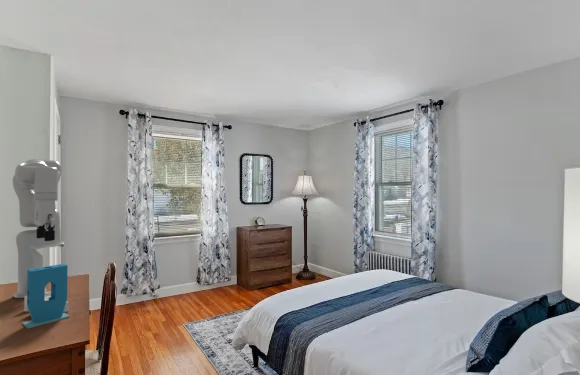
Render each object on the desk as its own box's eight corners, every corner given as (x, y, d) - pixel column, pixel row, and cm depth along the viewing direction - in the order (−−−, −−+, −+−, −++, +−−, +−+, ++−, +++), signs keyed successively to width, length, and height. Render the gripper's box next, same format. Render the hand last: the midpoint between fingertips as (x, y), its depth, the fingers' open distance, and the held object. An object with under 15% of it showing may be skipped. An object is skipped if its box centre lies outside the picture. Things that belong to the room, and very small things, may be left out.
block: (30, 325, 115) (30, 271, 116) (26, 322, 118) (26, 269, 119) (67, 315, 125) (68, 265, 125) (63, 312, 128) (63, 263, 128)
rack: (24, 311, 131) (24, 296, 131) (55, 303, 140) (55, 290, 140) (35, 319, 122) (35, 304, 122) (68, 311, 131) (68, 297, 131)
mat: (22, 323, 118) (22, 322, 118) (62, 313, 129) (62, 311, 129) (28, 328, 114) (28, 327, 114) (69, 317, 124) (69, 315, 124)
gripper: (27, 196, 128) (27, 238, 128) (41, 198, 118) (40, 243, 118) (50, 196, 134) (49, 236, 134) (64, 197, 124) (64, 240, 124)
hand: (45, 239), depth 126 cm, fingers open, 9 cm apart
